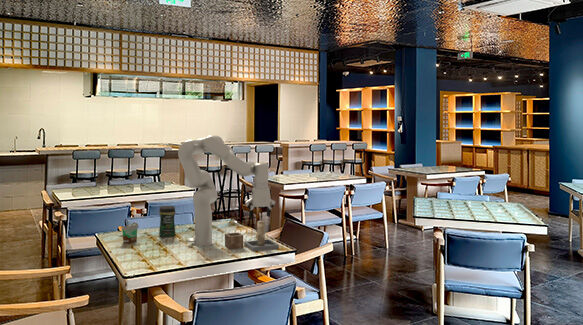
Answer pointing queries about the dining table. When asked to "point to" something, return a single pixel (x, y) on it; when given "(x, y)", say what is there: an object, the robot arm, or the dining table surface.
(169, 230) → the coffee jar
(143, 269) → the dining table surface
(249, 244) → the charcoal tray
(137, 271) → the dining table surface
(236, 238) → the brown wooden cube
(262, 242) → the beech pin
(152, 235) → the dining table surface
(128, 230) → the food container
